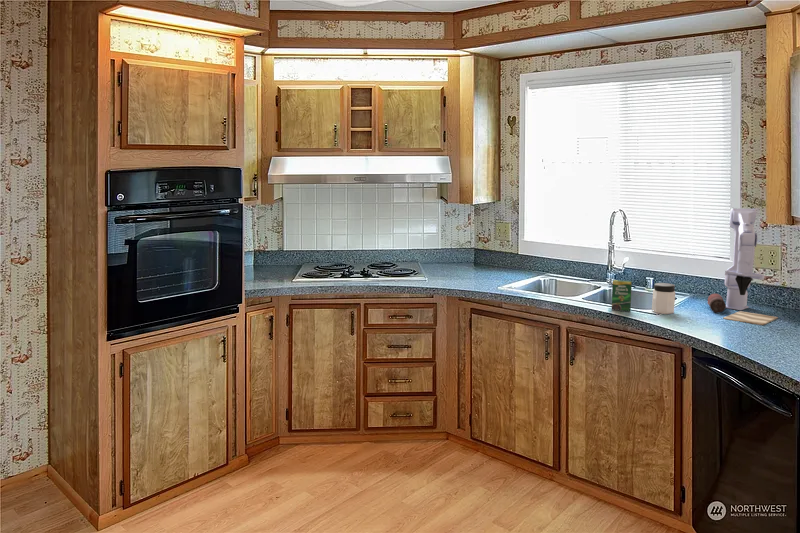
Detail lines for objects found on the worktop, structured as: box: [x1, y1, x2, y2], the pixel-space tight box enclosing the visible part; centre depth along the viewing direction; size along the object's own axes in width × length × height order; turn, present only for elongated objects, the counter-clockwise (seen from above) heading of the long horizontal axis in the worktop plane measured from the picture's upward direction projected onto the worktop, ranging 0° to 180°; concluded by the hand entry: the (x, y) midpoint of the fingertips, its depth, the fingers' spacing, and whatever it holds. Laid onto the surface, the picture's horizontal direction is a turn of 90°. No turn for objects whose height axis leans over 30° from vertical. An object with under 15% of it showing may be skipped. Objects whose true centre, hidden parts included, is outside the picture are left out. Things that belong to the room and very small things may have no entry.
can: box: [707, 293, 727, 314], centre depth 291 cm, size 6×6×14 cm
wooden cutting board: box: [723, 310, 779, 326], centre depth 276 cm, size 18×15×1 cm
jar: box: [651, 282, 676, 315], centre depth 285 cm, size 9×8×12 cm
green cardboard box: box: [611, 279, 633, 313], centre depth 288 cm, size 8×3×13 cm, turn 66°
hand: (742, 294), depth 274 cm, fingers closed
